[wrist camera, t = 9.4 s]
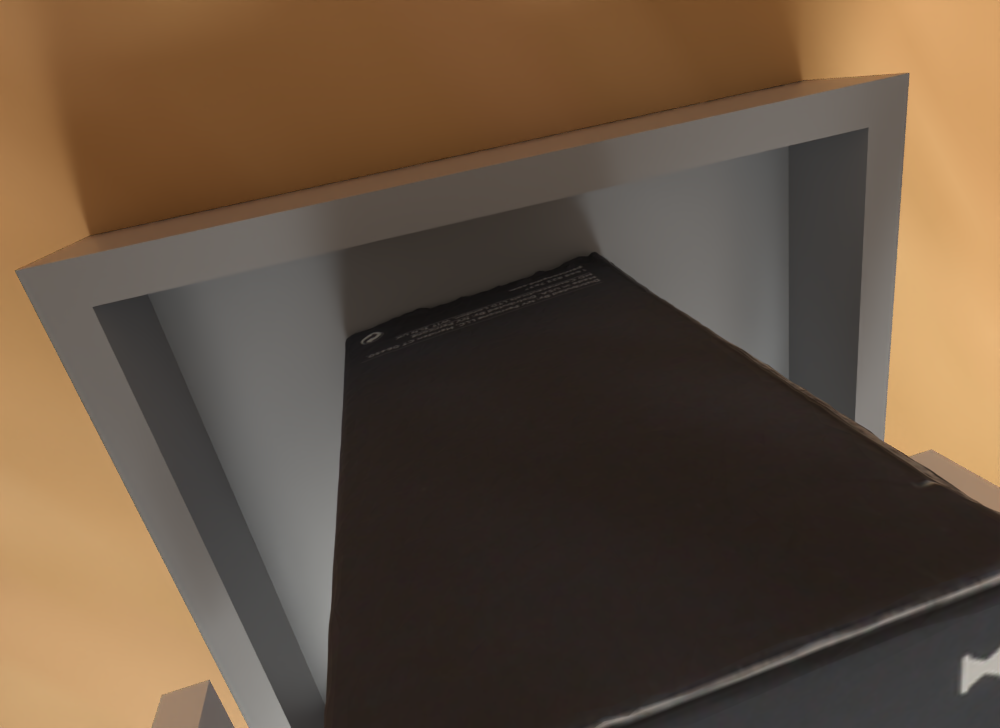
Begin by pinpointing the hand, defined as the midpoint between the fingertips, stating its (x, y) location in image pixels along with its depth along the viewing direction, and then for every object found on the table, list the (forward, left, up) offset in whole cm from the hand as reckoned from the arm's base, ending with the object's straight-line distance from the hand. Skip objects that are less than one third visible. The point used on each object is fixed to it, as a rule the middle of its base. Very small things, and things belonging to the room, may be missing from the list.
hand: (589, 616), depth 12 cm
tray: (0, 0, -5) cm, 5 cm away
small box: (0, 0, -5) cm, 5 cm away
